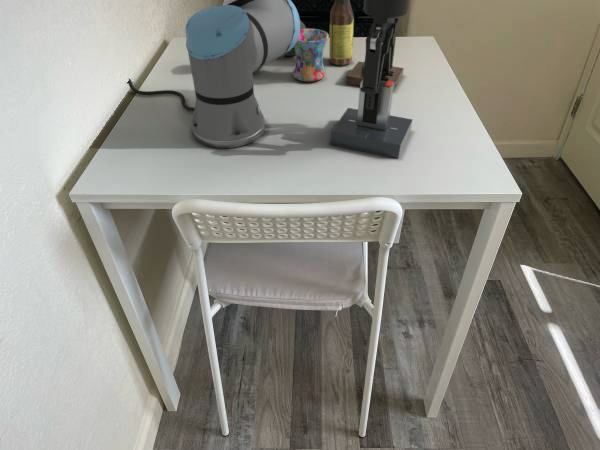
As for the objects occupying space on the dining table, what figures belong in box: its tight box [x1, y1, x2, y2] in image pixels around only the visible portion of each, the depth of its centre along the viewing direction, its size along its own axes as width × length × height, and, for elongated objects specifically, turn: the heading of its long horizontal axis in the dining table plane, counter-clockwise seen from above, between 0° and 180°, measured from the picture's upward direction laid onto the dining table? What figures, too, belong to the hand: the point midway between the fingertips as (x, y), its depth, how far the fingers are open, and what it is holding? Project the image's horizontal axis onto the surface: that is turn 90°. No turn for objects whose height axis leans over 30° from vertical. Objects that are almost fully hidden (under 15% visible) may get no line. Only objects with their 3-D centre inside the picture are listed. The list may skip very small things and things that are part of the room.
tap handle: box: [357, 80, 394, 130], centre depth 89 cm, size 6×2×9 cm, turn 67°
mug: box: [292, 28, 330, 82], centre depth 115 cm, size 12×9×11 cm
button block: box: [345, 60, 404, 92], centre depth 115 cm, size 12×10×4 cm
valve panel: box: [330, 107, 413, 159], centre depth 93 cm, size 14×11×3 cm
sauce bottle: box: [329, 0, 355, 66], centre depth 118 cm, size 6×6×20 cm
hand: (373, 114), depth 91 cm, fingers open, 6 cm apart
